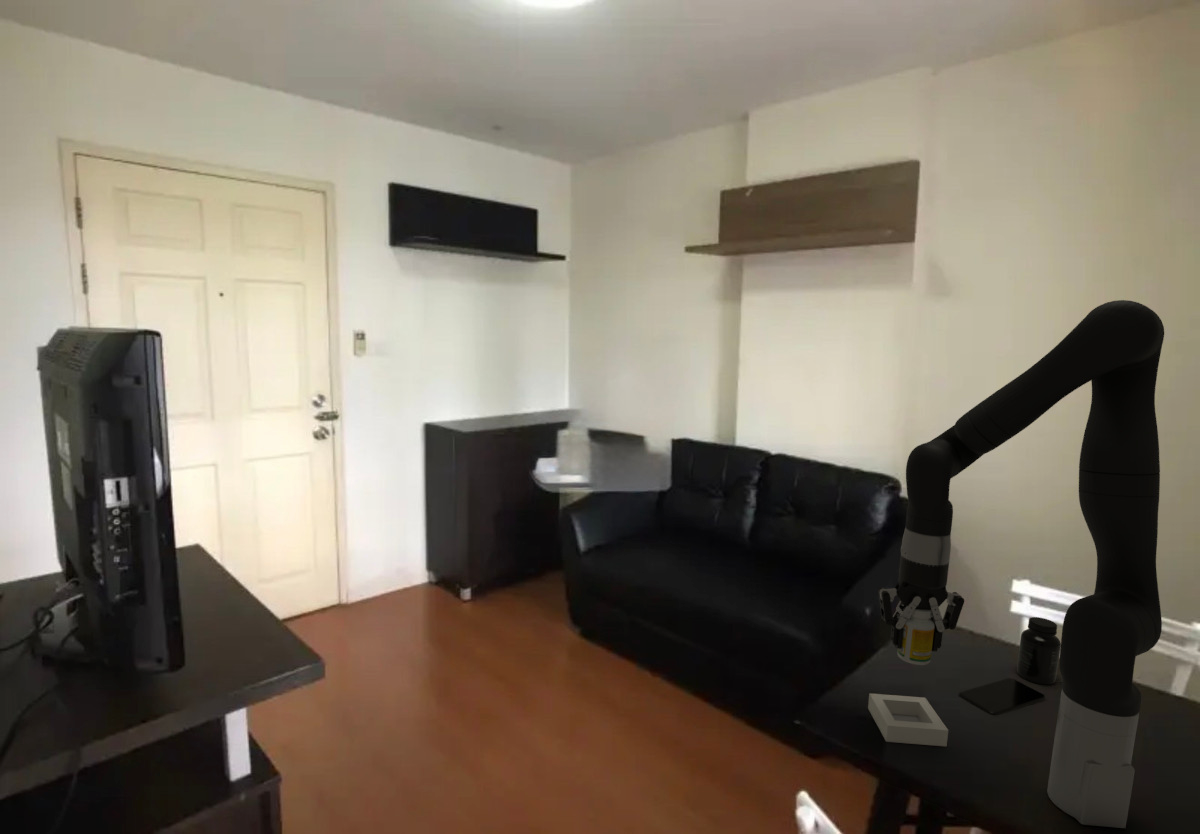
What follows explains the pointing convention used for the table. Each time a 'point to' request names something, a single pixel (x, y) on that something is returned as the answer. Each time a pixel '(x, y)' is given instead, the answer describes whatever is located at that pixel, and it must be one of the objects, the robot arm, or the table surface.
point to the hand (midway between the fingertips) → (915, 647)
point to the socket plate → (907, 720)
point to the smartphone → (1002, 696)
